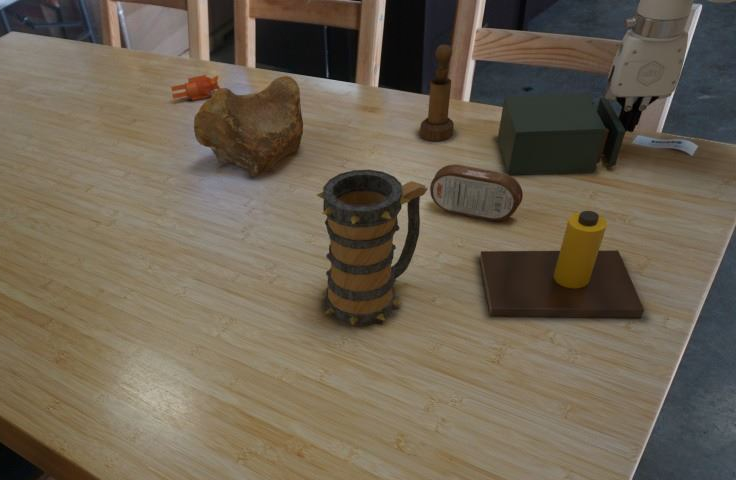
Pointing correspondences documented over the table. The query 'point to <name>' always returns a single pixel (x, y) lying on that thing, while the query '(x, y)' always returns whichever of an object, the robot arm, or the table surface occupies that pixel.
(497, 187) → the tin
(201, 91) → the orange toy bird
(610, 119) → the drawer
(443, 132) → the mortar and pestle
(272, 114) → the rough brown rock
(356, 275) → the mug
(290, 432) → the table surface
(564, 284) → the yellow bottle
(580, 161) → the cabinet
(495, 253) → the board
